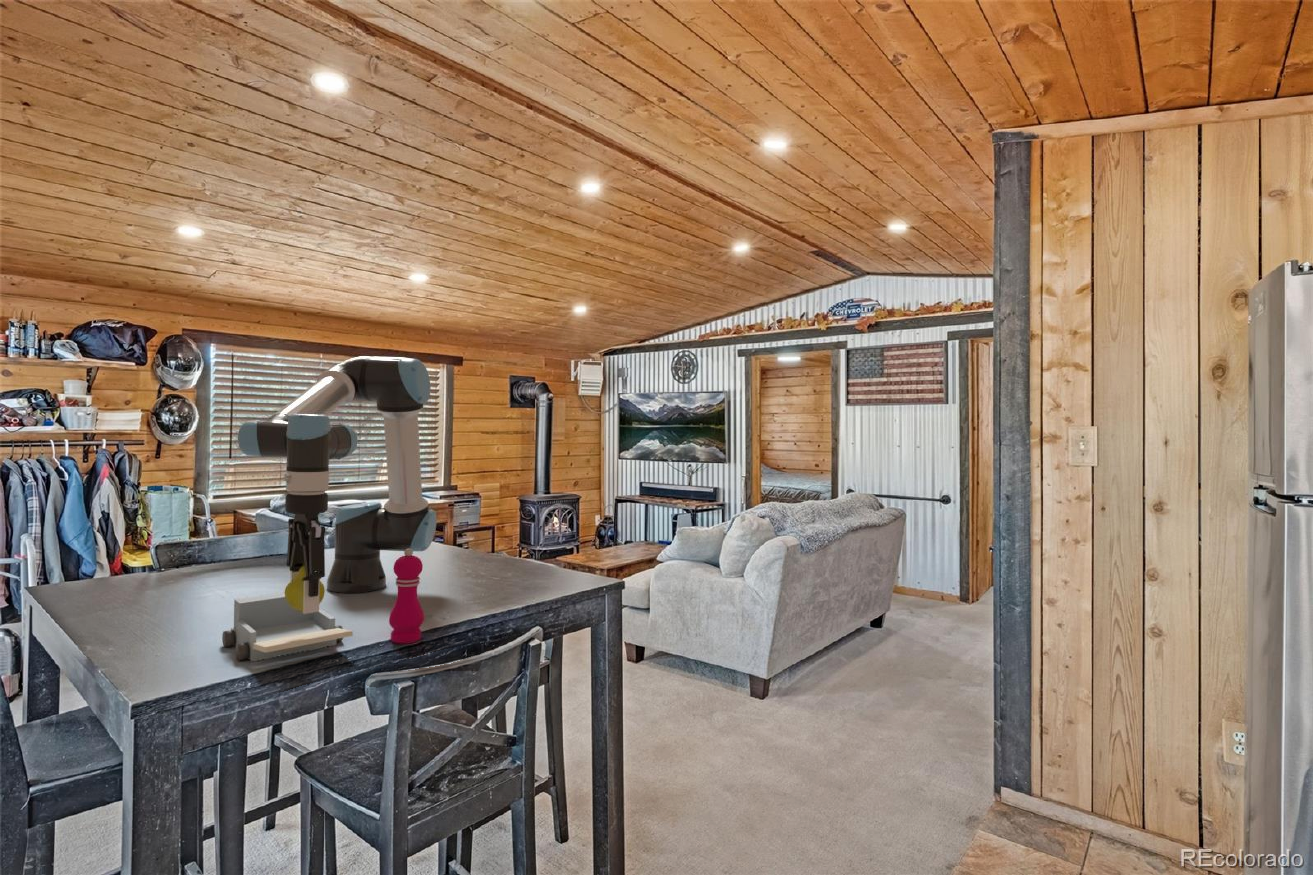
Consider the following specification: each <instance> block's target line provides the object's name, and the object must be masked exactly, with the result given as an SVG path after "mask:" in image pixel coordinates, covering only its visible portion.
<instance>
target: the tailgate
mask: <svg viewBox="0 0 1313 875" xmlns="http://www.w3.org/2000/svg"><path fill="white" fill-rule="evenodd" d="M349 637H354V636H353V630H351V629H345V628H343V629H341V628H334V629H328V630H323V631H318V632H312V633H307V634H301V635H296V636H290V637H285V638H279V639H274V640H268V641H263V642H257V643H253V649H256V650H259V651H262V652H265V653H266V652H271V651H277V650H282V649H287V648H292V647H297V646H303V645H308V644H313V643H318V642H323V641H328V640H334V639H339V638H343V639H344V638H349Z"/></svg>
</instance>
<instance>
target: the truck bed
mask: <svg viewBox="0 0 1313 875" xmlns="http://www.w3.org/2000/svg"><path fill="white" fill-rule="evenodd" d="M233 603H234V604H233V607H234V608H233V627H231V628H230V629H229V630H225V631H223V632H222V634H221V635H222V636H221V639H222V645H223V648H227V647H233V646H235V656H236V658H235V659H236V660H237V661H239V662H240V661H245V660H249V659H250V660H251V661H250V660H249V661H250V662H251V663H253V662H252V661H254V662H258V661H257V660H259V661H263V660H262V659H264V660H268V659H273V658H272V657H274V658H277V657H276V656H279V655H284V656H287V654H289V655H292V654H291V653H294V654H298V653H297V652H299V653H302V652H301V651H304V652H307V651H306V650H309V651H313V650H318V649H319V650H320V649H324V648H328V647H327V646H329V647H333V646H337V642H341V641H343V639H344V638H339V639H334V640H328V641H323V642H318V643H313V644H308V645H303V646H297V647H292V648H287V649H282V650H277V651H271V652H266V653H265V652H262V651H259V650H256V649H253V643H257V642H263V641H268V640H274V639H279V638H285V637H290V636H296V635H301V634H307V633H312V632H318V631H323V630H328V629H334V628H341V629H344V628H343V626H342V625H336V618H335V617H334V616H332V615H331V614H329V613H327V612H326V611H324V610H323V609H321V608H320V607H319V612H313V613H307V614H304V613H303V611H297V610H296V609H294V608H292V607H291V606H290V605H289V604H288V602H287V600H286V597H285V591H283V592H277V593H269V594H262V595H256V596H249V597H247V596H246V597H240V598H235V599H234V602H233ZM323 647H324V648H323ZM279 657H280V656H279Z"/></svg>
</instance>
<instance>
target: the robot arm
mask: <svg viewBox="0 0 1313 875" xmlns="http://www.w3.org/2000/svg"><path fill="white" fill-rule="evenodd" d="M430 397H431V380H430V375H429V371H428V369H427V367H426V366H425V364H424V362H422V361H421V360H420V359H417V358H409V357H405V356H402V357H401V356H399V357H398V356H368V355H367V356H366V355H364V356H363V355H361V356H356V357H352V358H348V359H346V360H343V361H341V362H338V363H336V364H334V365H332V366H331V367H329V368H327V369H326V370H324V371H323V372H321V373H320V374H319V376H318V377H317V379H316V382H315V383H314V384H313V385H311V386H310V387H308V388H307V389H306V390H304V391H303V392H302V393H300V394H298V395H297V396H296V397H295V398H294V399H292V400H291V401H289V402H288V403H287V404H286V405H285V404H284V406H283V407H281V408H280V409H279V410H277V411H276V412H274V413H273V414H272V415H270V416H269V417H267V419H266V420H265V419H264V420H260V419H256V420H248V421H244V422H243V423H242V424H241V426H240V427H239V429H238V432H237V442H238V443H237V444H238V448H239V449H240V451H241V452H242V453H243V454H244V455H245V456H253V457H259V458H286V467H285V468H286V475H285V476H283V481H285V490H286V491H287V492H288V493H286V494H285V498H284V499H285V502H284V505H285V506H284V507H285V508H284V510H285V512H286V513H287V514H291V515H294V518H293V517H292V518H288V521H287V524H288V539H287V553H286V554H287V555H286V567H288V568H289V571H290V582H291V581H292V580H293V579H295V578H296V577H297V575H298V573H299V570H300V568H301V567H302V566H304V565H305V572H306V577H304V578H302V581H304V591H303V613H304V614H307V613H313V612H319V608H320V604H319V593H320V581H321V579H322V578H324V577H326V570H325V569H326V564H325V563H326V561H325V560H326V559H325V557H326V556H325V554H326V553H325V534H326V526H325V525H321V522H320V520H319V519H320V518H319V515H320V514H324V513H325V512H327V511H328V508H329V494H328V493H327V491H328V490H329V486H330V484H329V482H330V469H329V467H330V464H329V463H330V460H341V459H345V458H346V457H347V458H348V457H349V456H350V455H352V454H353V453H354V452H355V451H356V449H357V446H358V442H359V441H358V436H357V432H356V431H355V429H353V428H352V427H351V426H349V425H347V424H344V423H340V422H338V423H336V422H334V423H332V422H331V419H330V417H329V415H330V414H332V413H333V412H334V411H335V410H336V409H337V408H338V407H339V406H340V407H341V406H345V405H349V403H351V402H353V401H355V402H357V401H364V402H365V401H366V402H367V401H368V402H375V403H376V411H378V412H379V413H380V414H382V416H383V427H384V440H385V441H384V442H385V454H386V469H387V470H386V472H387V485H388V501H386V502H385V503H384V504H383V505H382V503H381V502H375V501H374V502H373V501H371V502H362V503H354V504H347V505H344V506H341V507H339V508H338V509H337V510H336V512H335V513H336V514H335V520H334V521H335V522H334V560H333V564H332V566H331V568H330V571H329V574H328V576H327V579H326V580H327V581H326V589H327V590H328V591H330V592H335V593H342V594H349V593H351V594H354V593H355V594H358V593H367V592H373V591H377V590H381V589H382V588H384V587H386V585H387V583H386V582H387V576H386V574H385V570H384V567H383V564H382V562H381V551H393V552H404V551H405V550H406V549H408V548H410V549H412V551H413V552H424V551H426V550H428V549H429V547H430V546H431V545H432V542H433V539H434V537H435V533H436V528H437V519H438V518H437V515H438V514H437V512H436V510H434V509H431V508H430V509H429V501H428V499H426V498H424V497H423V488H422V487H423V486H422V484H423V483H422V471H421V470H422V468H421V466H422V465H421V448H420V447H421V446H420V434H419V433H420V431H419V413H421V411H422V410H423V409H424V404H425V403H427V402H428V401H429V399H430ZM290 582H289V583H290Z"/></svg>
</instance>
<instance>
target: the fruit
mask: <svg viewBox="0 0 1313 875" xmlns="http://www.w3.org/2000/svg"><path fill="white" fill-rule="evenodd" d="M304 577H306V572H305V565H304V566H302V567H301V568H300V570H299V573H298V575H297V577H296V578H295V579H293V580H292V581H291V582H288V584H287V585H286V586H285V588H284V592H285V597H286V600H287V602H288V604H289V605H290V606H291V607H292V608H294V609H296V610H297V611H303V591H304V581H302V578H304ZM325 591H326V590H325V585H324V584H323V582H322V581H321V580H320V593H319V605H320V604H321V603H322V601H323V599H324V596H325V593H326V592H325Z"/></svg>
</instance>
